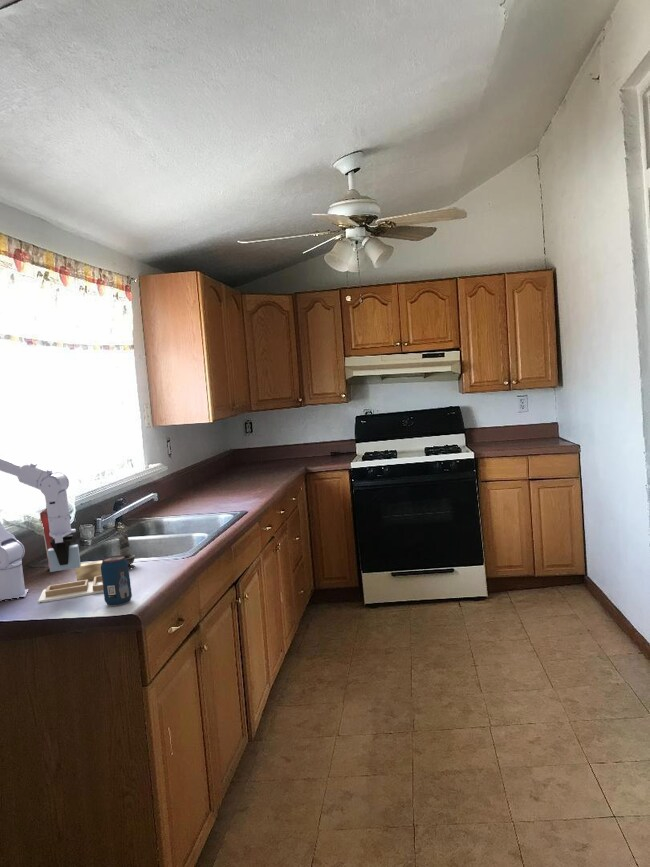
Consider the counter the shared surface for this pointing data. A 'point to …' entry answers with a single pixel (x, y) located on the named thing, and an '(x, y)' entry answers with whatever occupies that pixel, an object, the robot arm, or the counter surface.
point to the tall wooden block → (88, 571)
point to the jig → (72, 589)
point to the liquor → (46, 530)
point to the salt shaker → (126, 549)
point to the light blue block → (72, 561)
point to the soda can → (116, 580)
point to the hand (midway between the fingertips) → (64, 563)
